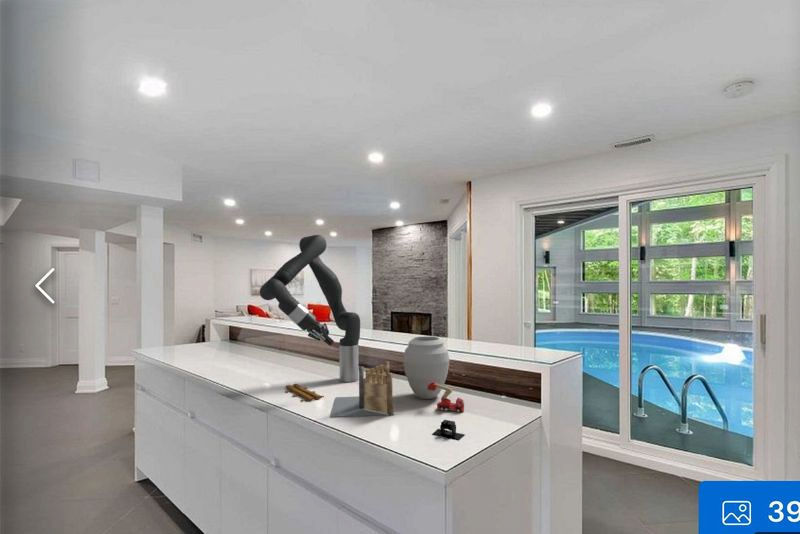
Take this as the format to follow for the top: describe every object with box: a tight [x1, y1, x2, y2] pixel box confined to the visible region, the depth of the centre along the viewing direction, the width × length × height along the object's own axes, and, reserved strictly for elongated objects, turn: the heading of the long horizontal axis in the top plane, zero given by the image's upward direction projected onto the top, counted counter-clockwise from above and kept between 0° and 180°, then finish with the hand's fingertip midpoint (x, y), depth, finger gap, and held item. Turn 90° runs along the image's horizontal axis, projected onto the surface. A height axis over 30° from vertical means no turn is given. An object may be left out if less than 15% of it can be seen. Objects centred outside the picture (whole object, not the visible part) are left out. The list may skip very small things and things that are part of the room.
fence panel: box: [364, 360, 390, 406], centre depth 159 cm, size 16×2×14 cm, turn 146°
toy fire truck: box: [428, 382, 465, 413], centre depth 149 cm, size 3×14×10 cm, turn 71°
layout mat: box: [330, 395, 395, 418], centre depth 154 cm, size 24×23×1 cm
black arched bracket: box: [431, 419, 466, 441], centre depth 126 cm, size 12×7×5 cm, turn 59°
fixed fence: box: [358, 365, 394, 417], centre depth 148 cm, size 15×2×16 cm, turn 59°
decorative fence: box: [284, 383, 325, 403], centre depth 172 cm, size 25×2×10 cm
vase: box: [402, 336, 450, 400], centre depth 166 cm, size 20×20×24 cm
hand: (332, 343), depth 166 cm, fingers closed
